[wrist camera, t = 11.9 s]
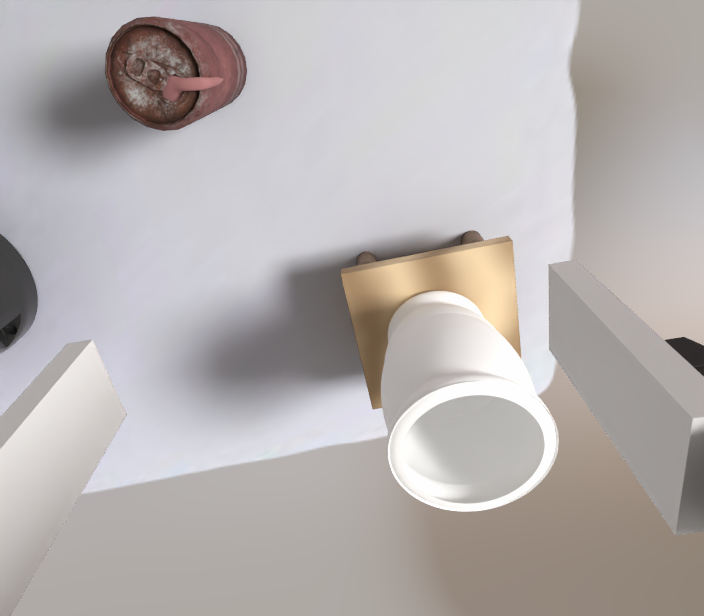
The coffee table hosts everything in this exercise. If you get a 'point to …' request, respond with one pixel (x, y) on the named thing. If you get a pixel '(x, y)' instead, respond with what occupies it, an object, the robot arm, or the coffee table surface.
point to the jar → (461, 408)
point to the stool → (424, 276)
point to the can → (173, 71)
